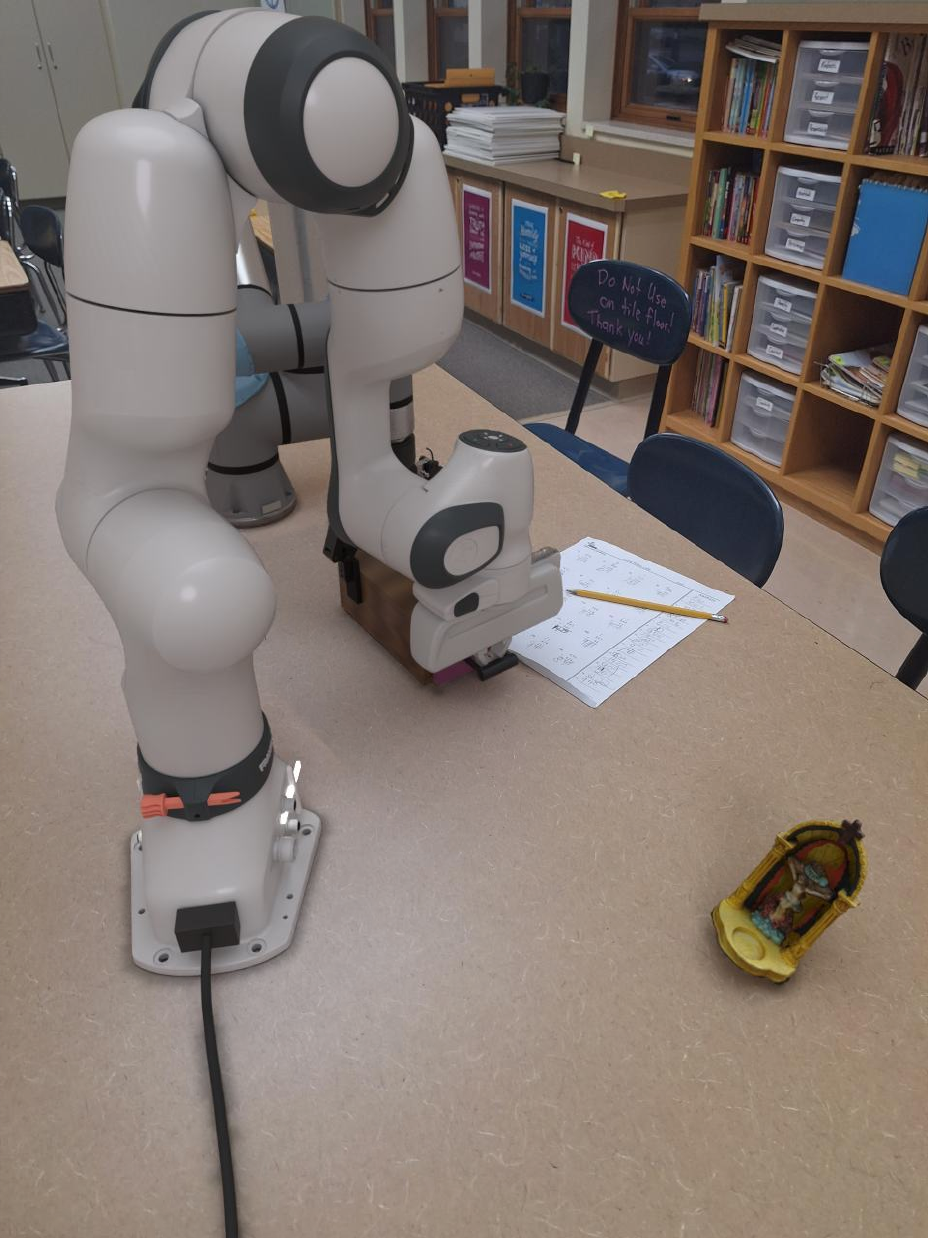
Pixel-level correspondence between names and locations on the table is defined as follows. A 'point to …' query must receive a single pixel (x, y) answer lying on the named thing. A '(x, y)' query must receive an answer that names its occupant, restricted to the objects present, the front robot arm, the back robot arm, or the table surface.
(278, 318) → the back robot arm
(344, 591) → the cabinet
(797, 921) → the shrine
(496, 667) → the drawer
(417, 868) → the table surface
